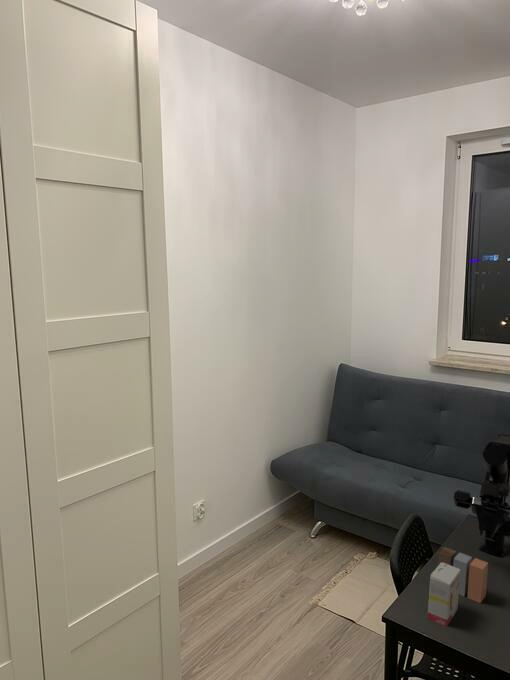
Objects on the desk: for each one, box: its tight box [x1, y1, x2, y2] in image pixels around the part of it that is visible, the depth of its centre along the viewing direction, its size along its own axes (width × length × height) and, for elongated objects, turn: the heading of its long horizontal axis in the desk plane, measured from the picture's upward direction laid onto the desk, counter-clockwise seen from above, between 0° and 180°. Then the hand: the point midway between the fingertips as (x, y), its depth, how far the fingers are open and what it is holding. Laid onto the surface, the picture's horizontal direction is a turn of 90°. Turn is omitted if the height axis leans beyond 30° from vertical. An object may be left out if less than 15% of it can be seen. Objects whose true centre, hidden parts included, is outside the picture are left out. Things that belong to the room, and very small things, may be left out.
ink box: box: [427, 563, 461, 627], centre depth 124 cm, size 9×5×12 cm, turn 142°
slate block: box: [453, 552, 473, 597], centre depth 133 cm, size 4×3×9 cm
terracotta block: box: [466, 557, 489, 604], centre depth 130 cm, size 4×3×9 cm
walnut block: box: [437, 546, 457, 566], centre depth 135 cm, size 4×3×9 cm
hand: (486, 536), depth 137 cm, fingers open, 2 cm apart
